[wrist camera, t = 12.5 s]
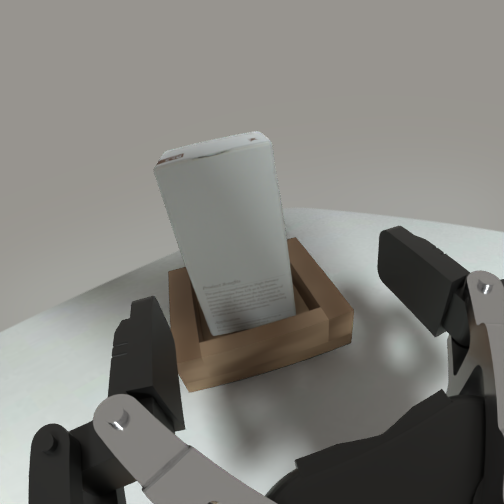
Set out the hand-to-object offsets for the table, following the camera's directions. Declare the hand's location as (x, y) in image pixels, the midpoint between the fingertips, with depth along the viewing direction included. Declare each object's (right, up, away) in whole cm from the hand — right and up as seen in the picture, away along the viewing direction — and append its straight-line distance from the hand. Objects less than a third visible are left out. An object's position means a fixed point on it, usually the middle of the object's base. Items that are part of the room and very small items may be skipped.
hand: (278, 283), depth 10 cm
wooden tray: (-1, -4, +12) cm, 13 cm away
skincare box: (-1, -3, +12) cm, 12 cm away
